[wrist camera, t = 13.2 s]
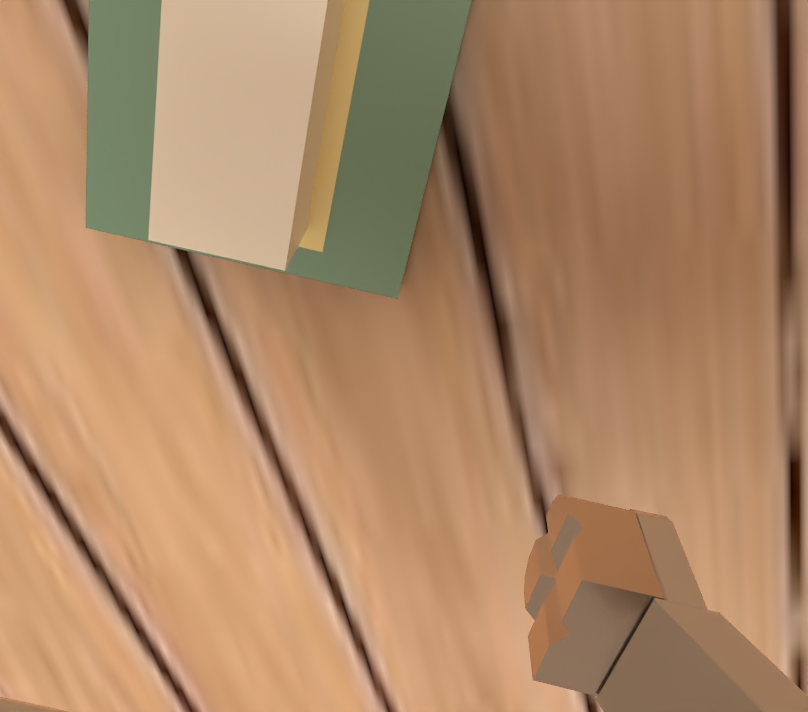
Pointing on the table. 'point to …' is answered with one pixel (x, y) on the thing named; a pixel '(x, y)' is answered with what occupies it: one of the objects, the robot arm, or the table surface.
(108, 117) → the header board
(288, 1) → the housing
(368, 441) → the table surface
